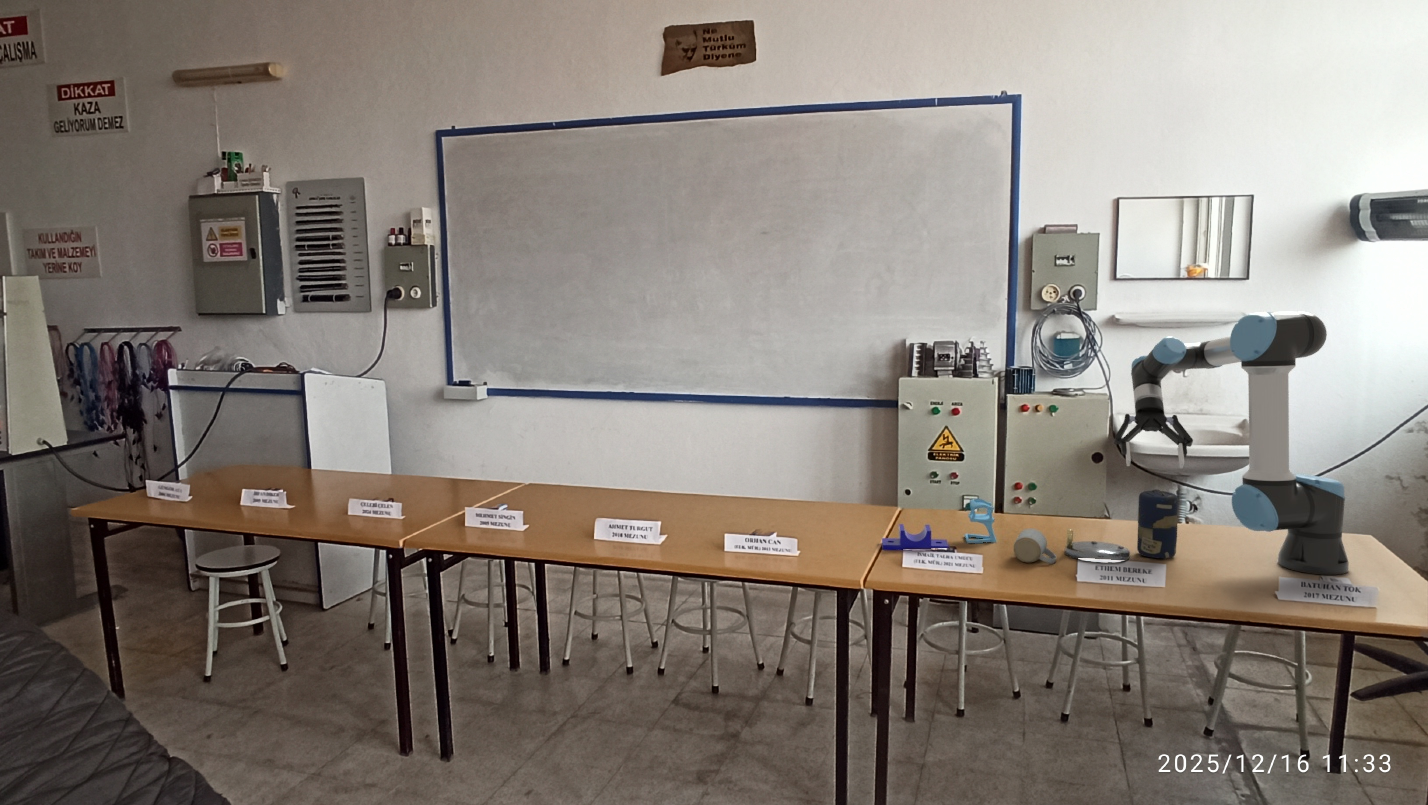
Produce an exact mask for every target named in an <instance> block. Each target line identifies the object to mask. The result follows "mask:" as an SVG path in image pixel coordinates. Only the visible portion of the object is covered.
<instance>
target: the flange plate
mask: <svg viewBox="0 0 1428 805" xmlns="http://www.w3.org/2000/svg"><path fill="white" fill-rule="evenodd" d="M1130 554H1131V552H1130V550H1129V549H1128V548H1126V547H1124V546H1121V545H1119V544H1114V543H1110V542H1104V541H1095V540H1092V541H1090V540H1089V541H1086V540H1084V541H1074V529H1072V528H1067V529H1066V544H1065V555H1066V556H1068V557H1069V558H1071V559H1073V560H1077V559H1078V558H1095V559H1111V560H1127V559H1128V558H1129V557H1130V558H1131V555H1130ZM1130 558H1129V559H1130ZM1127 561H1128V560H1127Z"/></svg>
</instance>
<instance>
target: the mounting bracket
mask: <svg viewBox="0 0 1428 805" xmlns="http://www.w3.org/2000/svg"><path fill="white" fill-rule="evenodd" d="M948 542H949V541H948V540H947V539H945V538H944V539H943V538H941V539H938V538H937V539H935V538H934V539H933V538H932V530H931V526H930V524H924V528H923V530H922V531H921V532H919V533H917V534H913V533H912V534H911V533H909V532H908V531H907V530H906V529H905V526H904V523H899V524H898V538H897V537H895V538H891V537H888V538H887V537H882V538H881V547H882V550H883V551H904V550H903V549H931V548H949V549H950V546H949V543H948Z"/></svg>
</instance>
